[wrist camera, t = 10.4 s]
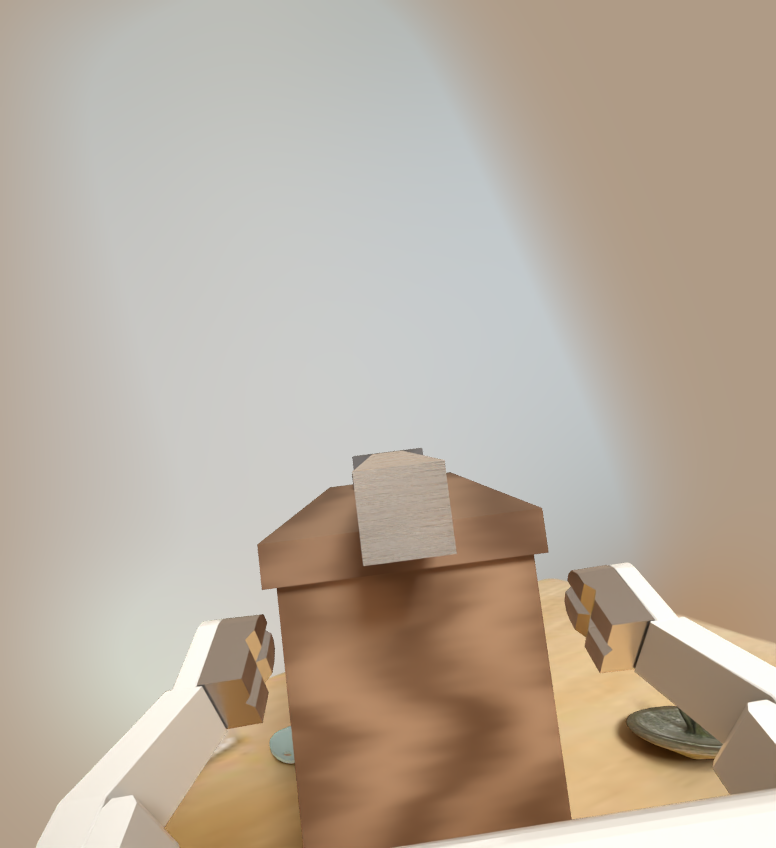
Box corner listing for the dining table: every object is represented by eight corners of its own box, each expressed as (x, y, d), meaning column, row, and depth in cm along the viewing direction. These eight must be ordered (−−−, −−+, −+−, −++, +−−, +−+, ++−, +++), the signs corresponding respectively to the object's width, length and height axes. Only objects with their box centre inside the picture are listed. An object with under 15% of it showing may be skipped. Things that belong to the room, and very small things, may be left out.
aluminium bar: (363, 566, 12) (352, 471, 12) (375, 484, 37) (372, 454, 37) (456, 554, 12) (444, 460, 12) (405, 480, 37) (402, 450, 37)
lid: (676, 813, 28) (665, 743, 28) (606, 715, 38) (599, 664, 38) (826, 804, 27) (814, 733, 27) (715, 707, 37) (707, 655, 37)
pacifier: (268, 743, 40) (274, 786, 34) (262, 681, 40) (266, 714, 35) (335, 715, 43) (350, 751, 37) (328, 658, 43) (342, 685, 38)
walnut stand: (322, 1186, 15) (250, 477, 17) (358, 740, 38) (326, 459, 40) (632, 1134, 15) (532, 442, 17) (483, 723, 38) (446, 444, 40)
